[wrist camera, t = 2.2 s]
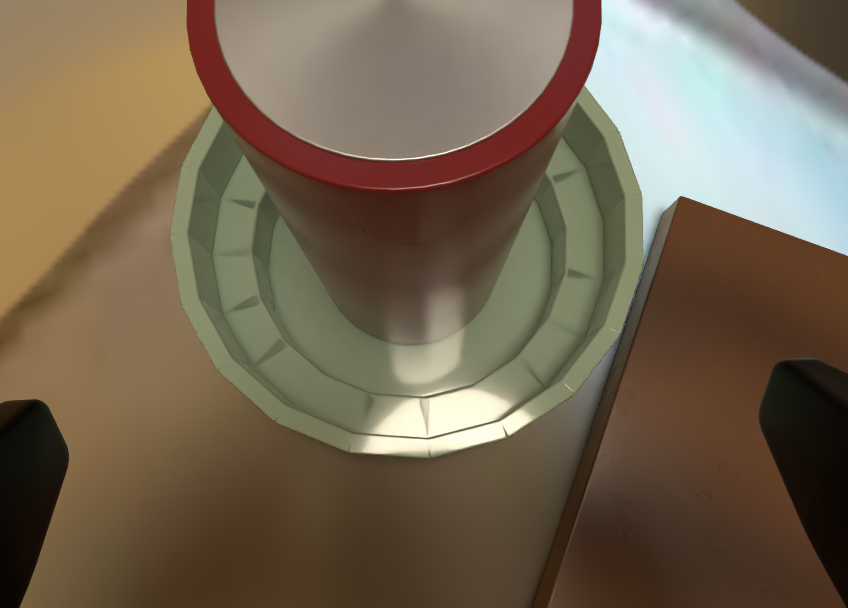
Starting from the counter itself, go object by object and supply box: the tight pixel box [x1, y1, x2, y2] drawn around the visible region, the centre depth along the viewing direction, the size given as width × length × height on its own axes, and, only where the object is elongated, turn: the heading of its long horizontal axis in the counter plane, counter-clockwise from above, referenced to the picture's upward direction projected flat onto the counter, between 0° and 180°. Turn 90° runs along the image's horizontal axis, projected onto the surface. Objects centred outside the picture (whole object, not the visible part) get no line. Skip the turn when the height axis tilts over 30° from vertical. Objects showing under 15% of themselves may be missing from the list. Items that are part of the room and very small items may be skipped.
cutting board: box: [532, 196, 848, 608], centre depth 18 cm, size 21×12×2 cm, turn 158°
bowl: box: [170, 86, 643, 459], centre depth 19 cm, size 13×13×4 cm
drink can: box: [187, 0, 602, 345], centre depth 14 cm, size 6×6×12 cm
